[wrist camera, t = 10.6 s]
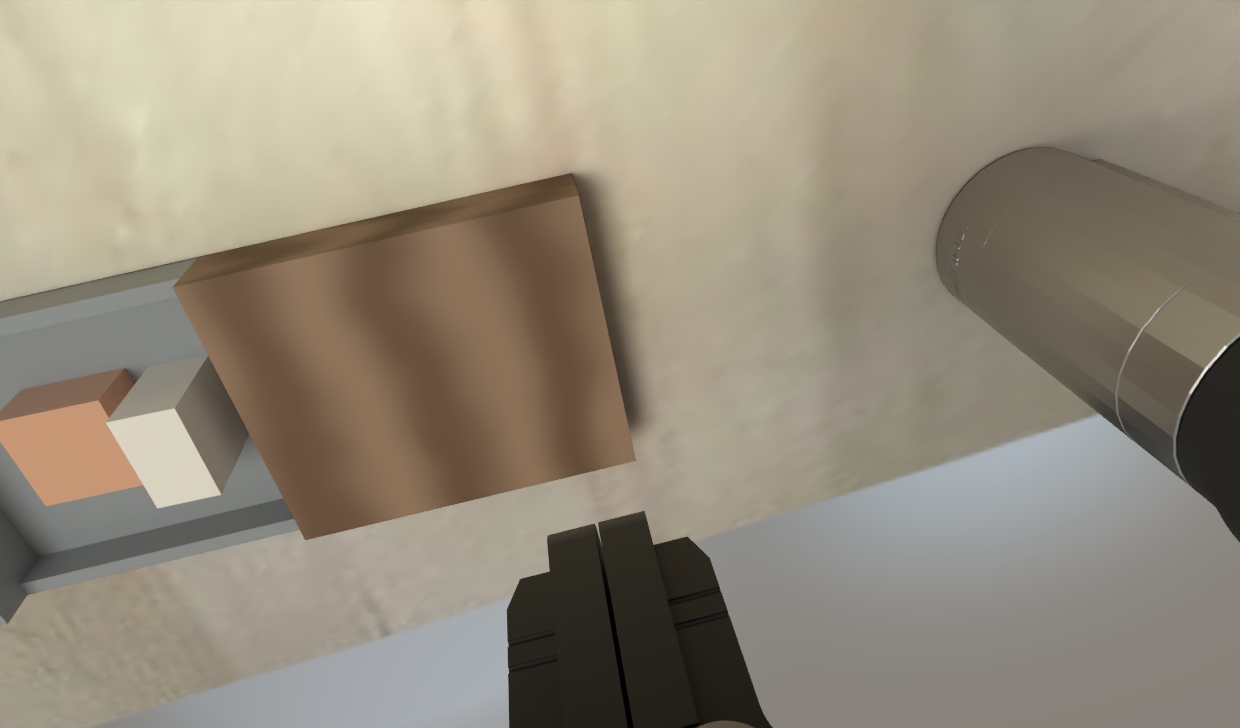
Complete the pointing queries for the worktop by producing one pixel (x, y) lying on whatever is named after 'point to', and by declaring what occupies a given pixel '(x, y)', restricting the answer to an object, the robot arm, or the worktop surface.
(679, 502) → the worktop surface
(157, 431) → the ivory square block
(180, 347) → the tray
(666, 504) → the worktop surface
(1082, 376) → the robot arm
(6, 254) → the worktop surface
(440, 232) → the walnut board
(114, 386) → the terracotta tile
